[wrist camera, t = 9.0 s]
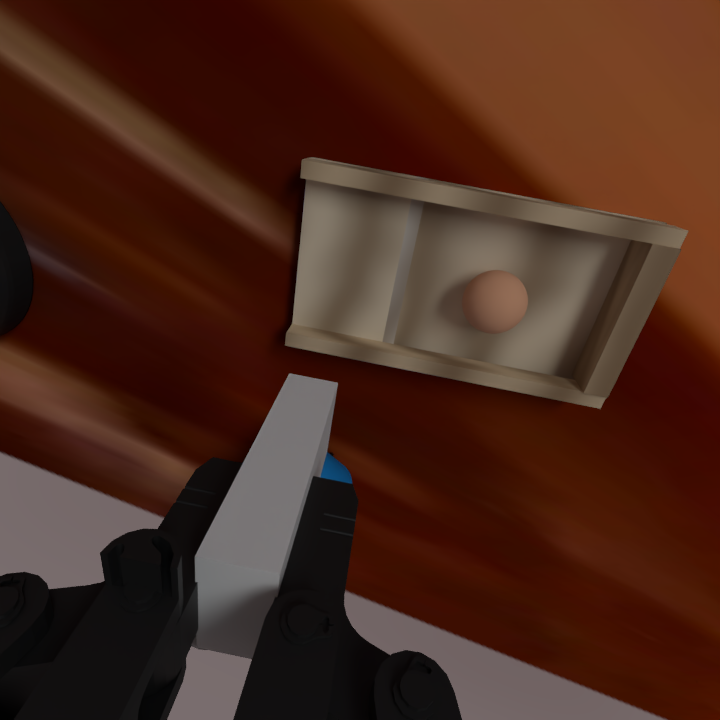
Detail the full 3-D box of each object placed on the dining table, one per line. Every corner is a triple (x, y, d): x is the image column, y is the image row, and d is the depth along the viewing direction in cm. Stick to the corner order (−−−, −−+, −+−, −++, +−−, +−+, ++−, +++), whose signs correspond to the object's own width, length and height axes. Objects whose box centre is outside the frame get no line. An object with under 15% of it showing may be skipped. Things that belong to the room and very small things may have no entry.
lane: (295, 329, 34) (284, 346, 31) (312, 157, 28) (301, 159, 25) (586, 388, 33) (601, 410, 30) (663, 222, 27) (690, 231, 25)
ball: (495, 318, 32) (445, 319, 30) (510, 262, 30) (457, 261, 28) (531, 342, 28) (476, 345, 27) (550, 281, 26) (492, 281, 25)
